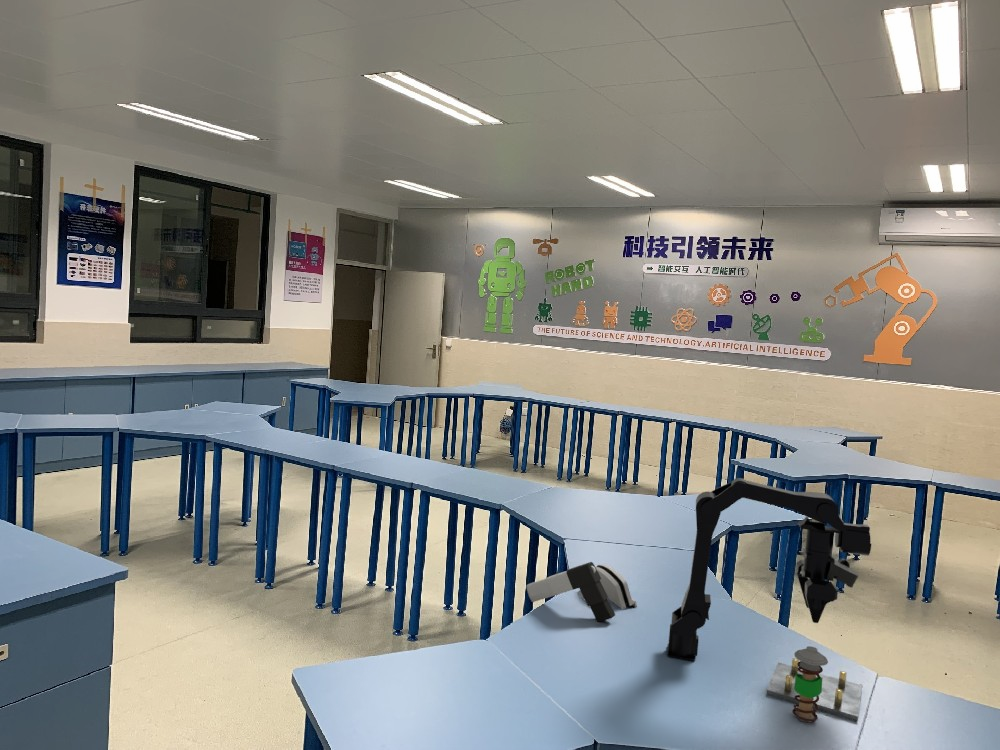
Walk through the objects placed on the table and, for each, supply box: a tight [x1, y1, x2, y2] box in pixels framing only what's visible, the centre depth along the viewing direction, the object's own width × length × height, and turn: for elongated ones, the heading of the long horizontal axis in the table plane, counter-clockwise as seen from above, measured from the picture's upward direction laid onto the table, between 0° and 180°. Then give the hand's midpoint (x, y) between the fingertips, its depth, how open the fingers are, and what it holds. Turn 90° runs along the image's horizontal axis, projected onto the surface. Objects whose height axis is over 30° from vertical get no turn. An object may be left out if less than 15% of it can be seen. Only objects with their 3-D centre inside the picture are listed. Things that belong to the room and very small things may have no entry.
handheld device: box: [525, 561, 616, 623], centre depth 198 cm, size 4×22×15 cm, turn 58°
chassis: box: [765, 657, 863, 723], centre depth 162 cm, size 18×16×4 cm
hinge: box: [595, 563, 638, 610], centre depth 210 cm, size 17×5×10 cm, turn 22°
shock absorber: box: [791, 645, 829, 723], centre depth 150 cm, size 6×6×15 cm
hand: (812, 615), depth 169 cm, fingers open, 9 cm apart
